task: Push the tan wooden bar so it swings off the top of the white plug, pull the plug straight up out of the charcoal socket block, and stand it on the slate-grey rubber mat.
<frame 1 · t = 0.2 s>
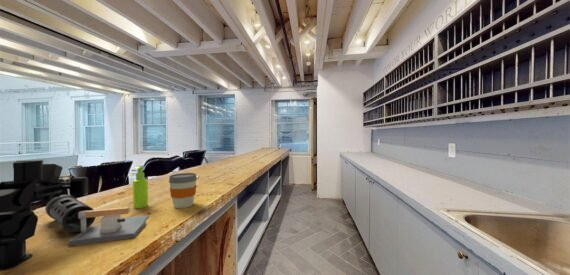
hand: (71, 183, 84), 17 cm above the table, tool horizontal, fingers open, 9 cm apart
reusable coffee cup: (183, 205, 109), on the table
muzzle brake: (74, 224, 87), on the table
plug: (111, 234, 78), resting in socket block
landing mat: (134, 221, 89), on the table
soap dispenser: (140, 207, 107), on the table
tan wooden bar: (104, 212, 77), point 8 cm above the table, hinge at 0.0°
socket block: (111, 233, 78), on the table
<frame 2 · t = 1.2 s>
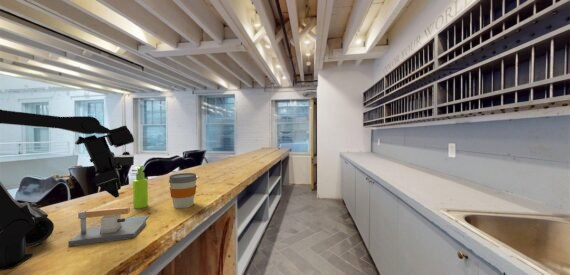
hand: (118, 193, 78), 14 cm above the table, tool tilted 20°, fingers open, 9 cm apart
muzzle brake: (38, 205, 79), point 10 cm above the table
everything else where it was.
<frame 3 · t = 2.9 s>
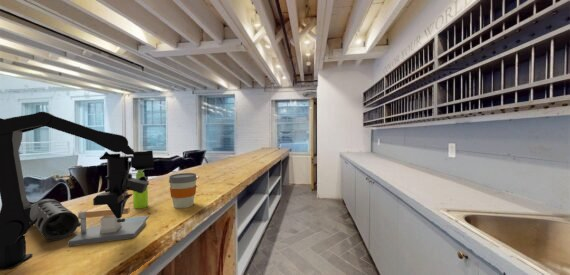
hand: (119, 218, 74), 7 cm above the table, tool pointing down, fingers closed
muzzle brake: (72, 216, 86), point 3 cm above the table
everything else where it was.
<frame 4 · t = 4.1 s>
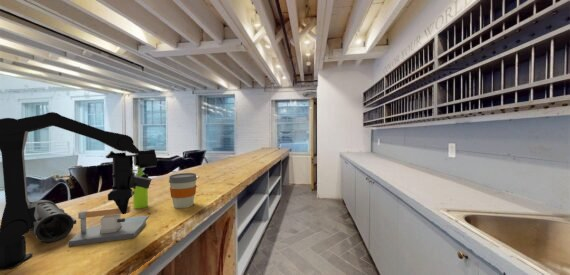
hand: (124, 213, 78), 7 cm above the table, tool pointing down, fingers closed
muzzle brake: (67, 213, 85), point 5 cm above the table
tan wooden bar: (105, 212, 77), point 8 cm above the table, hinge at 4.3°, touching gripper
everything else where it was.
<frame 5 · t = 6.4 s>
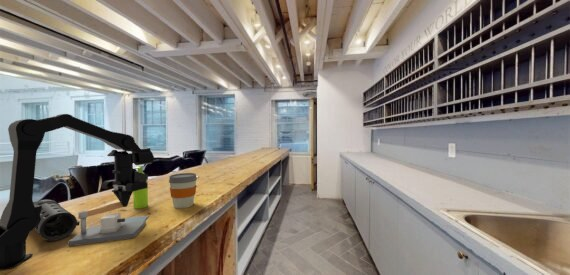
hand: (125, 206, 85), 7 cm above the table, tool pointing down, fingers closed
muzzle brake: (70, 215, 86), point 4 cm above the table
tan wooden bar: (104, 209, 81), point 8 cm above the table, hinge at 47.6°, touching gripper
everything else where it was.
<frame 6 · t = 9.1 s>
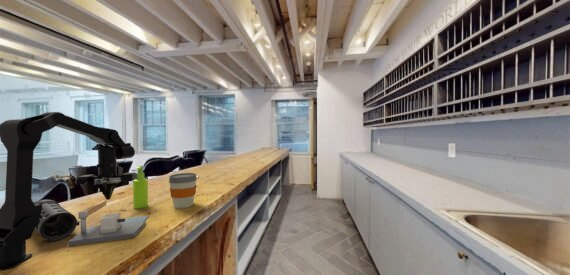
hand: (108, 199, 88), 9 cm above the table, tool pointing down, fingers closed
tan wooden bar: (93, 208, 81), point 8 cm above the table, hinge at 89.2°
everything else where it was.
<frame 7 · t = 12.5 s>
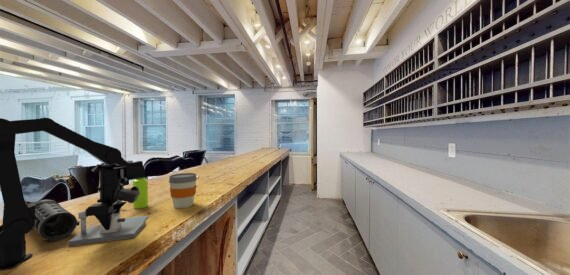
hand: (111, 226, 77), 3 cm above the table, tool pointing down, fingers closed on plug, 5 cm apart
plug: (111, 233, 78), resting in socket block, touching gripper
everything else where it was.
when the fingers open (4 cm above the table, at t = 16.7 s): plug drops 1 cm, resting on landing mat.
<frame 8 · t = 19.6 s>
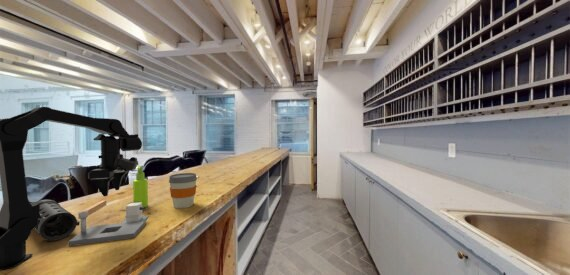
hand: (111, 193, 83), 13 cm above the table, tool pointing down, fingers open, 9 cm apart
plug: (134, 220, 89), resting on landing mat
everything else where it was.
at the end: plug 0.1 cm off-centre on the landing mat, point 0.4 cm above the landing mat's base; plug tilted 0°; tan wooden bar at +89° (first picture: +0°) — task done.
